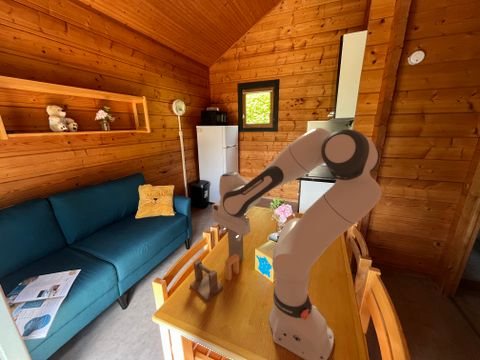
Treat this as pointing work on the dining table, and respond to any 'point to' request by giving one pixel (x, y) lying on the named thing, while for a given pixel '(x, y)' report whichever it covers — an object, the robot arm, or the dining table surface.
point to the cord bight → (235, 261)
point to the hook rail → (205, 281)
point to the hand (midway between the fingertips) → (230, 235)
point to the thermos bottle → (235, 244)
